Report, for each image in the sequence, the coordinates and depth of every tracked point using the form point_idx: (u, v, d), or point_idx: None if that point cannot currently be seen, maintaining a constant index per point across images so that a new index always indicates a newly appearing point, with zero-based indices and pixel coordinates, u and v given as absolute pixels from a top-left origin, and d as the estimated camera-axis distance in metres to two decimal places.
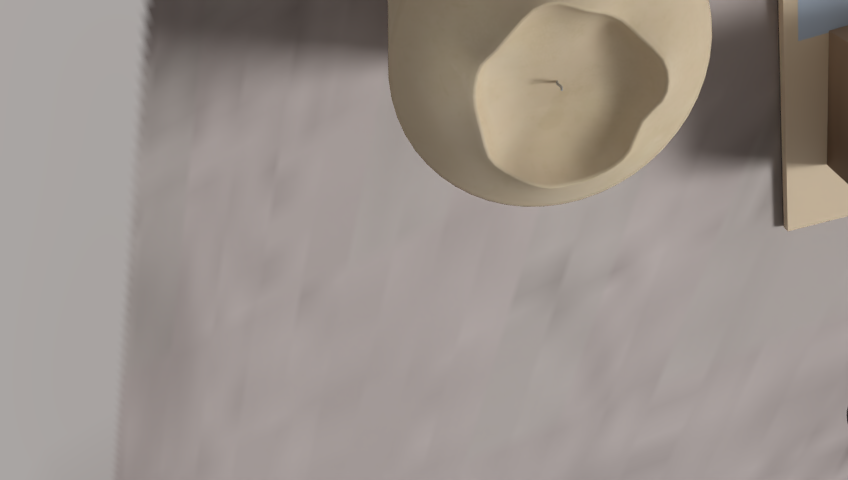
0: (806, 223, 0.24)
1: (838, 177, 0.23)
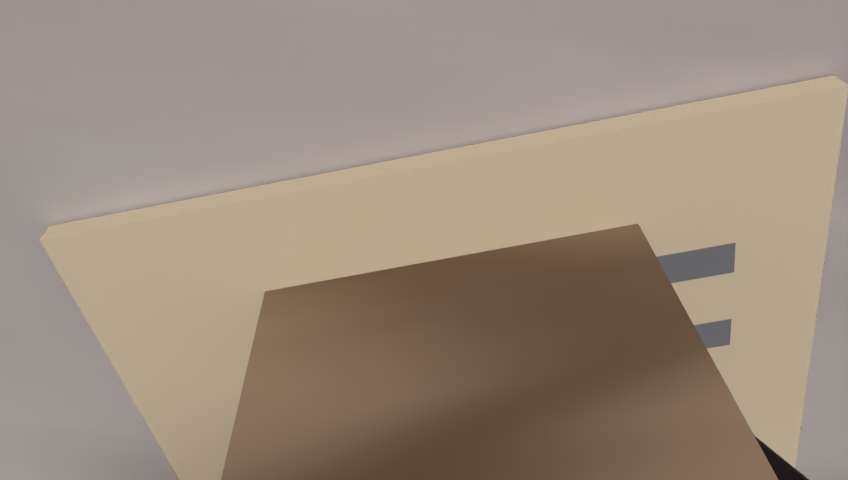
0: None
1: None
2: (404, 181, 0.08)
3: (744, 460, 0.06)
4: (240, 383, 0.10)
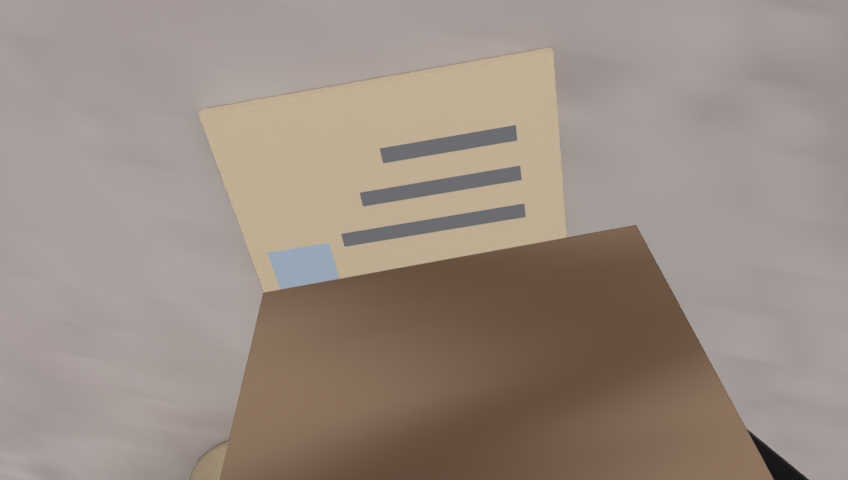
0: None
1: (509, 241, 0.21)
2: (362, 90, 0.18)
3: (740, 461, 0.06)
4: (283, 194, 0.20)
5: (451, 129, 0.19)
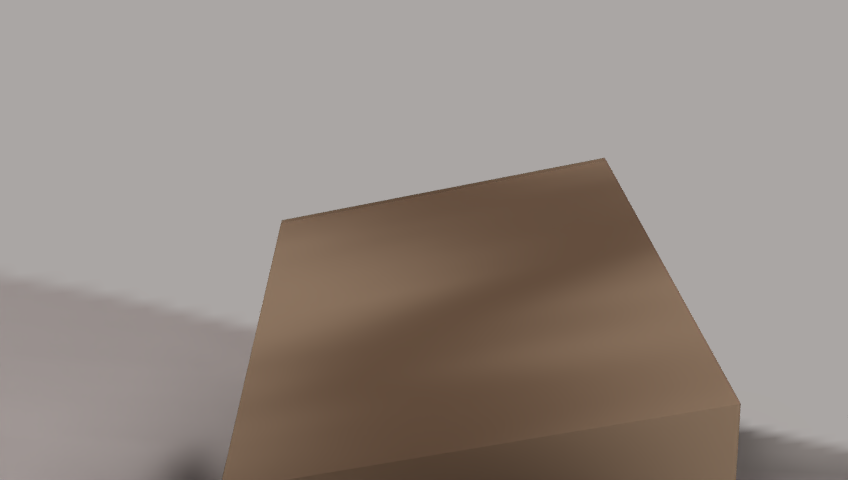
0: None
1: None
2: None
3: (677, 323, 0.07)
4: None
5: None
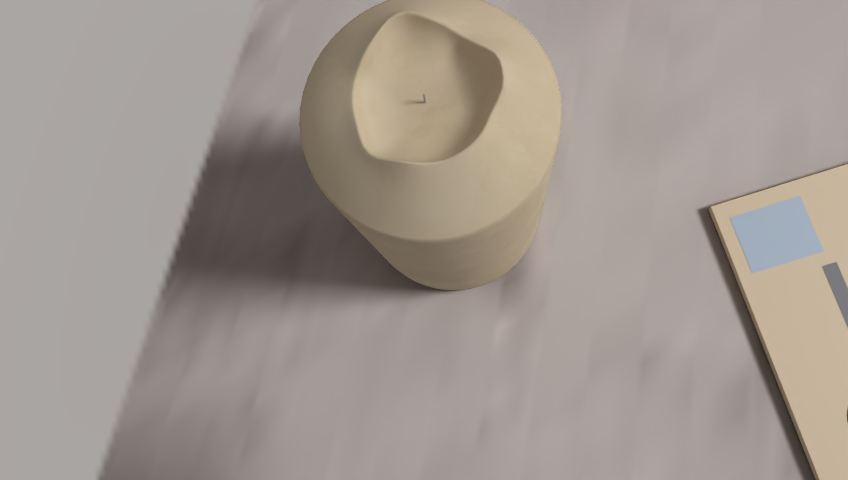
0: None
1: None
2: None
3: None
4: None
5: None
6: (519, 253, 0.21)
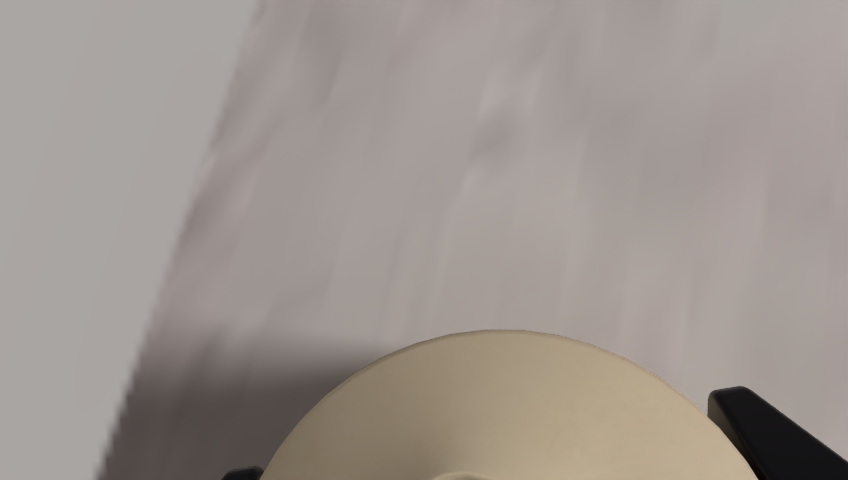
0: None
1: None
2: None
3: None
4: None
5: None
6: None
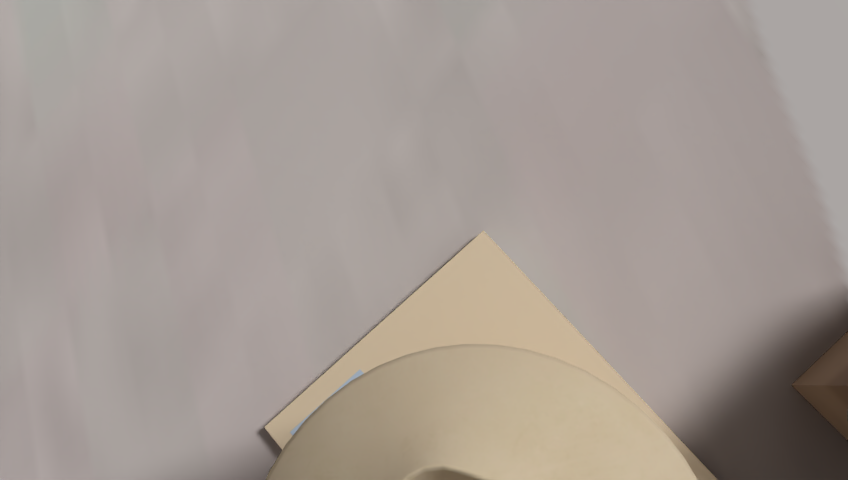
0: None
1: None
2: (602, 366, 0.17)
3: None
4: None
5: None
6: None
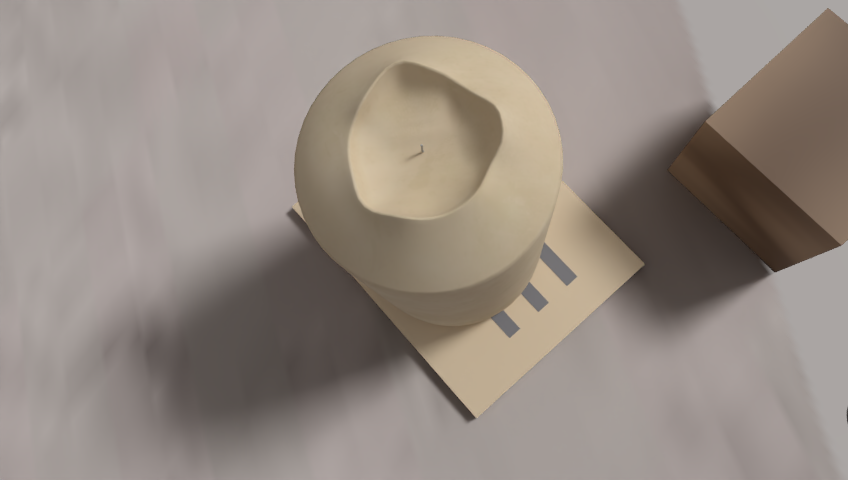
0: (488, 401, 0.22)
1: (480, 341, 0.22)
2: None
3: None
4: None
5: None
6: (518, 292, 0.21)
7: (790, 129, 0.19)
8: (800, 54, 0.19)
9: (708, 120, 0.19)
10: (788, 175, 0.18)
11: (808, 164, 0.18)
